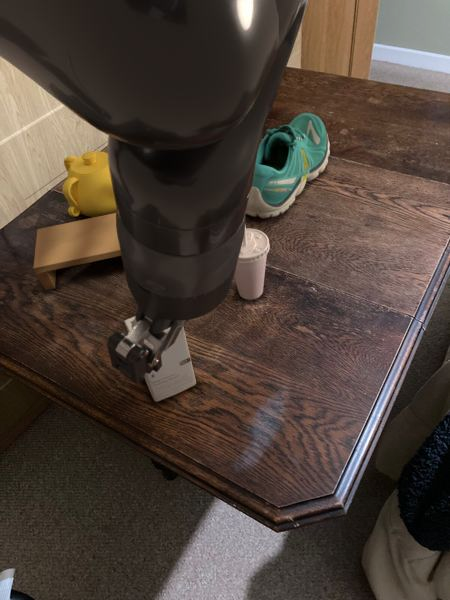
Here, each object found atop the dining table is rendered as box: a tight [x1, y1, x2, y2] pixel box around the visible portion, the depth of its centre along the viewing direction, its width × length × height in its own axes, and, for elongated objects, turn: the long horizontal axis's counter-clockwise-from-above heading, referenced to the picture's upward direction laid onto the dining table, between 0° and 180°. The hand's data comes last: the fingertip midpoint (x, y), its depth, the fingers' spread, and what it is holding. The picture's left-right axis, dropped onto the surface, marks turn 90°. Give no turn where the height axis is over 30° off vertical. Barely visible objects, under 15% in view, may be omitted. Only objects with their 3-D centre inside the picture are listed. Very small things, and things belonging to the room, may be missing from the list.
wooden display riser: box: [33, 213, 122, 291], centre depth 82 cm, size 16×10×5 cm, turn 102°
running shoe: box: [245, 112, 331, 220], centre depth 89 cm, size 11×29×11 cm, turn 155°
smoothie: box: [233, 224, 271, 301], centre depth 70 cm, size 6×6×14 cm
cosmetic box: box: [123, 316, 197, 402], centre depth 61 cm, size 6×4×12 cm
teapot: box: [62, 150, 116, 218], centre depth 90 cm, size 14×14×11 cm
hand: (178, 327), depth 46 cm, fingers open, 8 cm apart
